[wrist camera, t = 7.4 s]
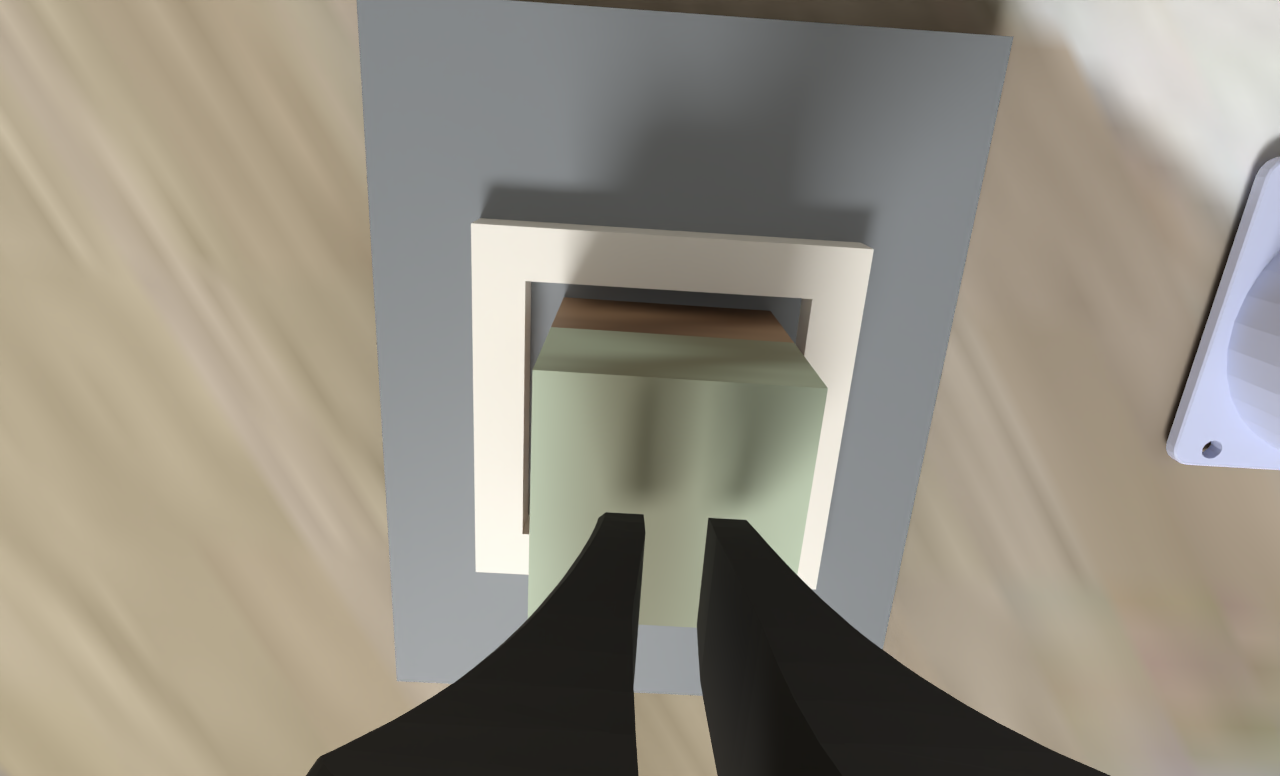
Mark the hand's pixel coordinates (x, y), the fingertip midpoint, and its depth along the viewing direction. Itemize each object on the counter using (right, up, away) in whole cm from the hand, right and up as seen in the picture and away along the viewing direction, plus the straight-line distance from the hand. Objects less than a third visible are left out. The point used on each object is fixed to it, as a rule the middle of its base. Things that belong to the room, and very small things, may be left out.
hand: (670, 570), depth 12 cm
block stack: (0, +3, +7) cm, 7 cm away
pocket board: (0, +3, +8) cm, 8 cm away
